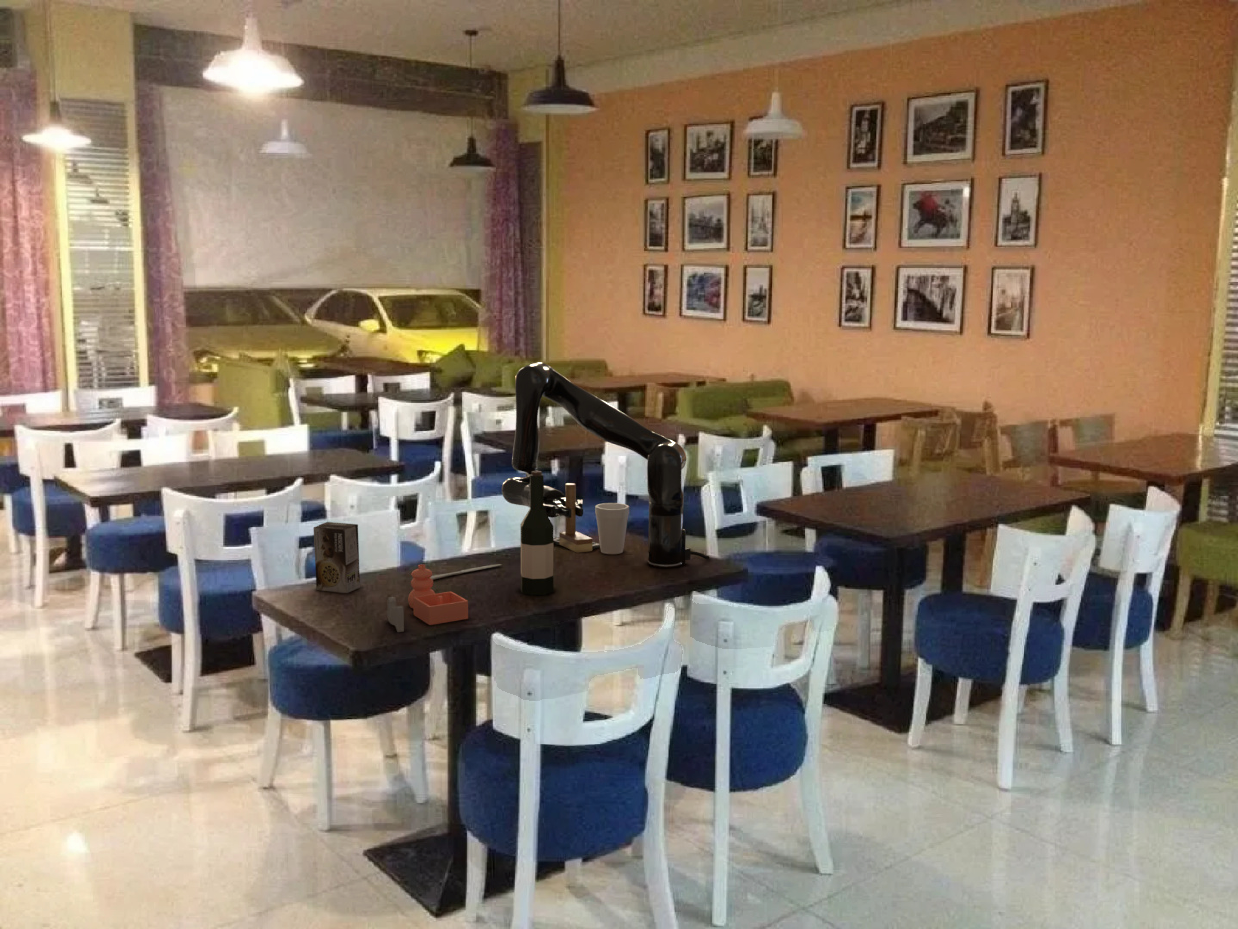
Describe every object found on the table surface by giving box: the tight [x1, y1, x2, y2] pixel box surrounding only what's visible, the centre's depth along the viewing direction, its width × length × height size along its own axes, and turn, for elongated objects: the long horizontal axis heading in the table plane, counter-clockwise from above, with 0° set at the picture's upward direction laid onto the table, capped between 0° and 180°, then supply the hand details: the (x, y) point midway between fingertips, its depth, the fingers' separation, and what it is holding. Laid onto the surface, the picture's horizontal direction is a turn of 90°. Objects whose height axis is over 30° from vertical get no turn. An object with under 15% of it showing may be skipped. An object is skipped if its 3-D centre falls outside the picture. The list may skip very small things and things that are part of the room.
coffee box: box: [312, 521, 361, 594], centre depth 285 cm, size 9×6×16 cm
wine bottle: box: [520, 470, 554, 596], centre depth 284 cm, size 8×8×30 cm
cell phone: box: [553, 536, 600, 550], centre depth 334 cm, size 8×15×1 cm, turn 43°
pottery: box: [407, 564, 469, 626], centre depth 268 cm, size 18×10×10 cm, turn 33°
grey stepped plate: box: [386, 596, 405, 633], centre depth 258 cm, size 6×1×10 cm
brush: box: [558, 482, 593, 553], centre depth 295 cm, size 10×4×16 cm, turn 29°
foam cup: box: [594, 502, 630, 555], centre depth 326 cm, size 10×9×13 cm
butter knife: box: [430, 564, 501, 581], centre depth 303 cm, size 1×24×3 cm
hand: (575, 513), depth 294 cm, fingers closed on brush, 2 cm apart
